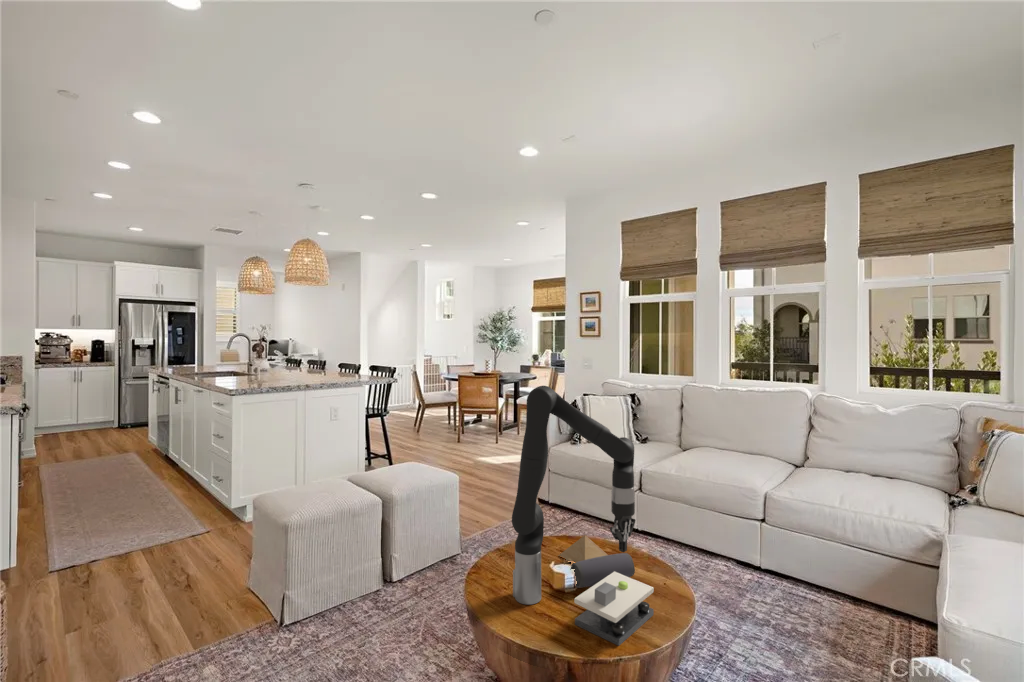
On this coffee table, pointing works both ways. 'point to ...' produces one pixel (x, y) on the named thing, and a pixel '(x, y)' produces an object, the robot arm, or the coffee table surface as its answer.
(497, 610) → the coffee table surface
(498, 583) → the coffee table surface
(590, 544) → the model pyramid
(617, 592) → the plate
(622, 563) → the bluetooth speaker
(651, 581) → the coffee table surface
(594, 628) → the tribrach base
